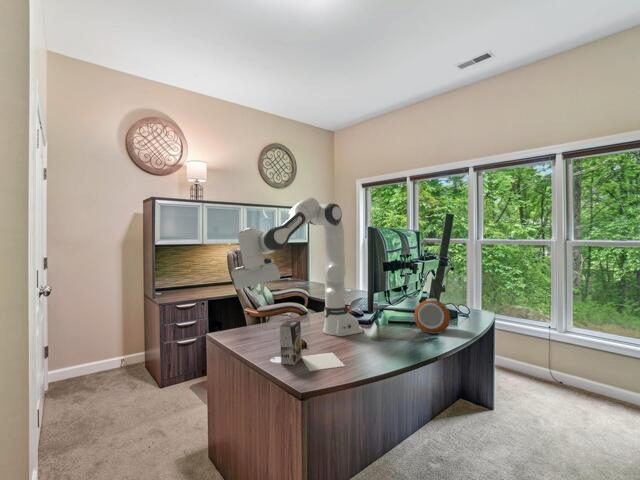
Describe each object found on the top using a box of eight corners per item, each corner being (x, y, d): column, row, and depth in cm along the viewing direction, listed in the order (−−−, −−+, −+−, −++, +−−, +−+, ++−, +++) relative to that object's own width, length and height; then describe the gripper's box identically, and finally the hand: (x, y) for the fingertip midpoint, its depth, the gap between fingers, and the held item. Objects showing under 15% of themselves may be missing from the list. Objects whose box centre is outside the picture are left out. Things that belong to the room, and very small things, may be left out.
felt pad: (332, 353, 150) (332, 352, 150) (345, 366, 135) (345, 365, 135) (300, 357, 146) (300, 356, 146) (309, 371, 130) (309, 370, 130)
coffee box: (295, 365, 136) (293, 326, 136) (280, 364, 138) (278, 326, 138) (302, 356, 145) (300, 320, 144) (289, 355, 147) (287, 320, 146)
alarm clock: (412, 332, 179) (412, 301, 179) (415, 324, 196) (415, 295, 195) (450, 336, 172) (449, 303, 172) (450, 327, 188) (450, 297, 188)
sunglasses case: (277, 339, 170) (283, 328, 171) (288, 344, 173) (294, 333, 174) (291, 350, 154) (297, 337, 155) (303, 355, 157) (309, 342, 158)
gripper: (229, 268, 140) (237, 300, 138) (276, 257, 145) (284, 288, 144) (230, 269, 146) (237, 300, 145) (275, 259, 151) (282, 288, 150)
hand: (261, 294), depth 144 cm, fingers closed
